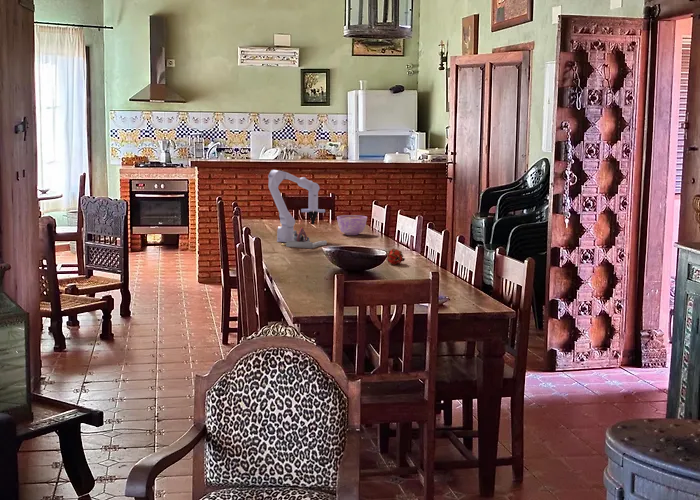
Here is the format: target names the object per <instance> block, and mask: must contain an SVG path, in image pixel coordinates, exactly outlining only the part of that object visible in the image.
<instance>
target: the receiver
mask: <svg viewBox="0 0 700 500" xmlns="http://www.w3.org/2000/svg"><path fill="white" fill-rule="evenodd" d="M285 244H286V246H285V247H286V248H296V249H297V248H298V249H314V248H317V247H321V246H327V245H328V242H327V240H325V239H324V240H319V241H315V242H312V241H310V242H302V241H286V242H285Z"/></svg>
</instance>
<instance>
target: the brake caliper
mask: <svg viewBox="0 0 700 500" xmlns="http://www.w3.org/2000/svg"><path fill="white" fill-rule="evenodd" d="M293 240H294V241H302V242H311V240H310V237H309V236H307V233H306V231H305V229H304V228H303V227H300V230H299V232H298V231H297V230H293Z"/></svg>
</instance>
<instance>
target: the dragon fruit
mask: <svg viewBox="0 0 700 500" xmlns="http://www.w3.org/2000/svg"><path fill="white" fill-rule="evenodd" d="M386 258H387V263H388V264H389V263H390V264H391V265H393V266H395V265H400V264H402V262H405V259H406V258H405V257H404V255H403V252H402V251H401V250H399V249H397V248H391V249H390V250H389V251H387V257H386Z"/></svg>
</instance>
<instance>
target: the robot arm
mask: <svg viewBox="0 0 700 500" xmlns="http://www.w3.org/2000/svg"><path fill="white" fill-rule="evenodd" d="M267 177H268V185H267V186H268V190H269V192H270V195H271V197H272V198H273V201H274V204H275V206H276V208H277V211H278V213H279V215H278V217H279V222H280V224H281V226H278V227H277V231H276V233H277V234H276V235H277V236H276V237H277V238H276V239H277V240H276V242H277V243H278V242H279V243H281V242H282V243H286V241H294V239H293V237H294V234H293V232H294V226H295V224H296V219H295V218H294V217H293V215H292V214H291V212H290V211H289V210H288V208H287V205H286V203H285V201H284V199H283V196H282V194H281V192H280V190H279V186H280V184H282V182H283V181H284V180H289V181H291V182H293V183H296V184H297V186H298V187H300V188H303V189H305V190H307V191H308V208H301V209H300V213H308V217H309V218H310V222H311V225H315V221H316V218H317V215H318V214H319V213H326V209H324V208H323V209H322V208H321V209H320V208H319V191H320V188H321V187H320V185H319V184H318V183H317V182H313V180H309V179H307V177H305V176H302V177H299V176H298V177H297V176H296V175H294V174H291V173H290V172H287V171H283V170H277V169H271V170H270V172H269V173H268V176H267Z"/></svg>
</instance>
